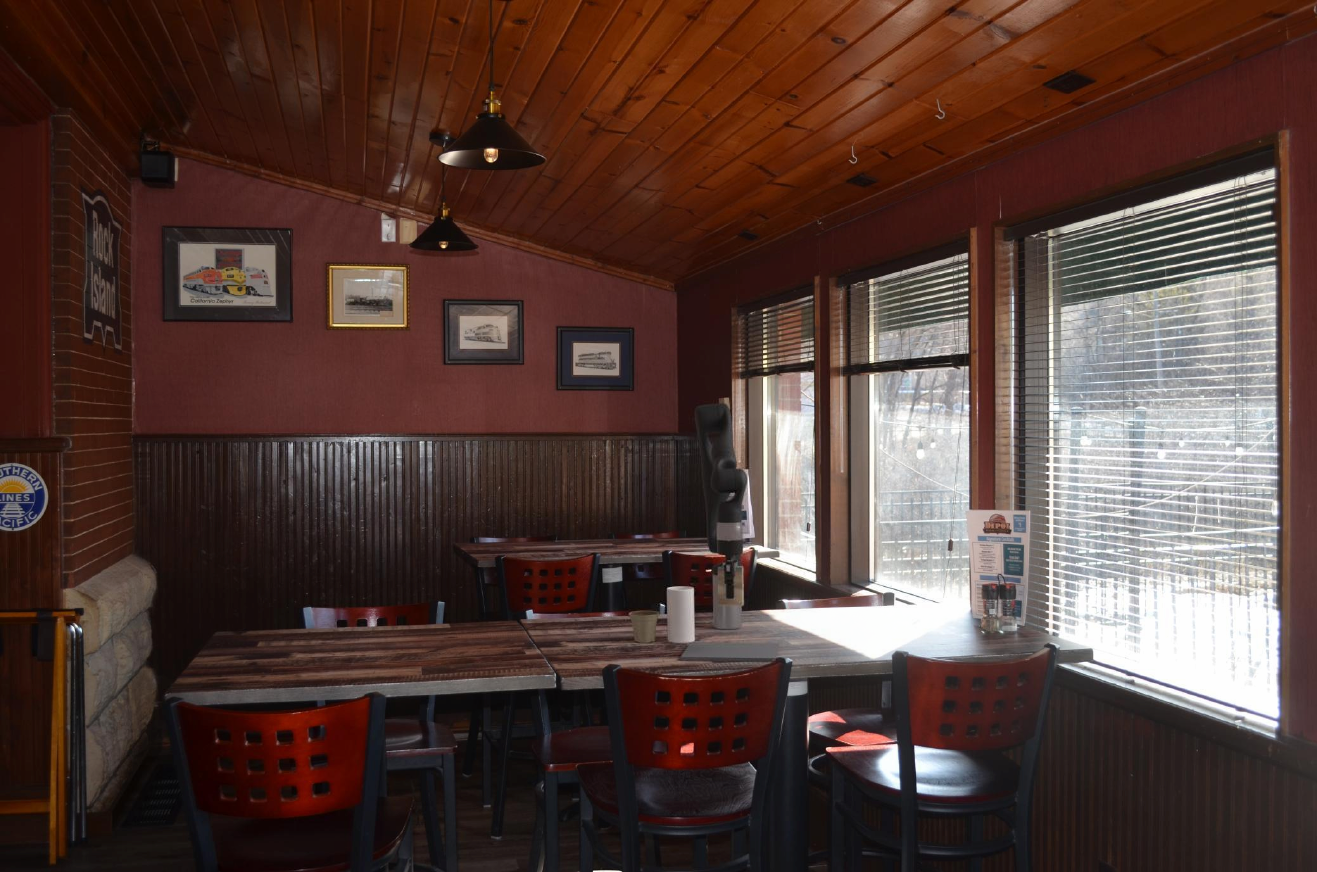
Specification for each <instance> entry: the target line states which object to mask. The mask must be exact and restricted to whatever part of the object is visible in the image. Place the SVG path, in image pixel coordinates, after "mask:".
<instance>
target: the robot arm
mask: <svg viewBox="0 0 1317 872" xmlns="http://www.w3.org/2000/svg"><path fill="white" fill-rule="evenodd" d="M694 422H695V428H696V434H697V439H698V447H699V454H700V463H701V464H700V466H701V477H702V478H701V479H702V488H703V495H704V502H705V504H704V505H705V512H706V513H705V516H706V536H707V537H706V540H707V547H708V549H709V551H710V553H712V554H716V555H720V556H724V557H725V558H724V560H723V561H722V562H720V563H717V564H714V565H713V566H712V597H713V598H712V602H713V603H712V607H713V608H712V609H713V612H712V613H713V616H712V617H713V628H714V629H718V630H735V629H741V628H742V627H743V617H742V615H743V609H742V607H743V606H718V567H719V566H723V567H724V579H725V581H724V583H725V585H727V586H726V598H727V599H733V598H734V584H735V583H734V578H735V577H736V567H737V566H742V555H743V554H744V531H743V530H744V527H743V523H742V522H743V515H742V514H743V513H742V509H743V500H744V495H745V492H746V488H747V485H748V475H747V473H746V472H745V470H744V469H742V468H737V467H738V461H737V457H736V452H735V450H734V449H735V447H734V433H733V422H732V414H731V410H730V407H729V406H728V405H727V404H726V403H724V402H720V403H719V402H718V403H710V404H703V405H698V406H696V408H695V410H694ZM712 434H719V435H718V437H717V438H716V439H715V441H714V442H713V444H712V443H711V442H710V440H709V437H708V435H712ZM731 494H734V495H733V497H732V498H731V499H729V497H730V495H731ZM728 499H729V500H728ZM733 571H734V574H733ZM728 577H731V580H727V578H728Z"/></svg>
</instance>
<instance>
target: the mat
mask: <svg viewBox="0 0 1317 872" xmlns="http://www.w3.org/2000/svg"><path fill="white" fill-rule="evenodd" d="M779 647H780V646H779V643H777V642H709V641H707V642H706V641H705V642H703V641H702V642H700V641H697V642H696V641H693V642H689V644H688V646H687V647H686V648H685V650H684V651H683V653H682V654H681V656H680V661H689V662H691V661H693V662H694V661H695V662H699V661H700V662H750V663H751V662H753V663H754V662H755V663H757V662H758V663H759V662H760V663H762V662H765V663H772V662H771V661H773V660H775V661H776V659H775V658H777V656H778V655H777V654H778V650H779Z"/></svg>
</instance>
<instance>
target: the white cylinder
mask: <svg viewBox="0 0 1317 872" xmlns="http://www.w3.org/2000/svg"><path fill="white" fill-rule="evenodd" d="M694 594H695V589H694V587H692V586H683V585H682V586H671V587H667V588H666V609H667V610H666V612H667V613H666V614H667V620H666V621H667V641H668V642H669V643H674V644H687V643H691V642H696V641H695V636H696V635H695V595H694Z"/></svg>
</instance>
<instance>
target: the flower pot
mask: <svg viewBox="0 0 1317 872" xmlns="http://www.w3.org/2000/svg"><path fill="white" fill-rule="evenodd" d="M659 615H660V612H659V611H655V610H636V611H635V610H634V611H631V612H629V613H628V616H629V617H630V620H631V625H632V631H633V639H634V642H635V641H636V642H635V643H640V644H649V643H652V642H656V632H657V625H658V623H657V622H658V619H659Z"/></svg>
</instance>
